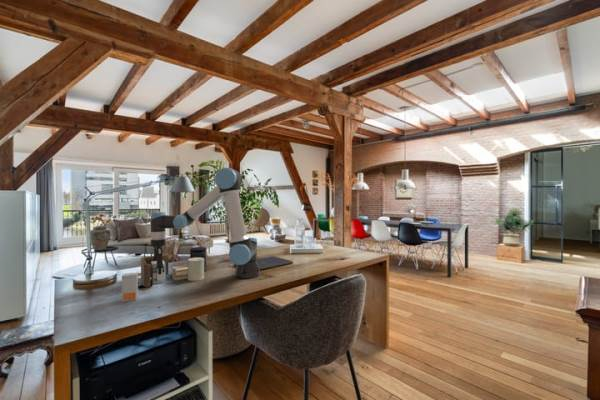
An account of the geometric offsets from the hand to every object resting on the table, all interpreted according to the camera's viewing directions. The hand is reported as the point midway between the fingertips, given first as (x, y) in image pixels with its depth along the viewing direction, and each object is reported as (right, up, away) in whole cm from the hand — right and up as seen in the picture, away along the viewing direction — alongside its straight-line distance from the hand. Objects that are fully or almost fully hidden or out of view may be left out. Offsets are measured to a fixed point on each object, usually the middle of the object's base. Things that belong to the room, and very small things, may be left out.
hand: (158, 277), depth 161 cm
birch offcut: (+10, +1, +8) cm, 12 cm away
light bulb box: (0, -2, 0) cm, 2 cm away
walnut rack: (-1, -2, +1) cm, 2 cm away
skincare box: (+2, -3, -30) cm, 30 cm away
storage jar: (+16, -2, +20) cm, 25 cm away
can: (+20, -2, +4) cm, 21 cm away
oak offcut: (+9, -2, +7) cm, 12 cm away
